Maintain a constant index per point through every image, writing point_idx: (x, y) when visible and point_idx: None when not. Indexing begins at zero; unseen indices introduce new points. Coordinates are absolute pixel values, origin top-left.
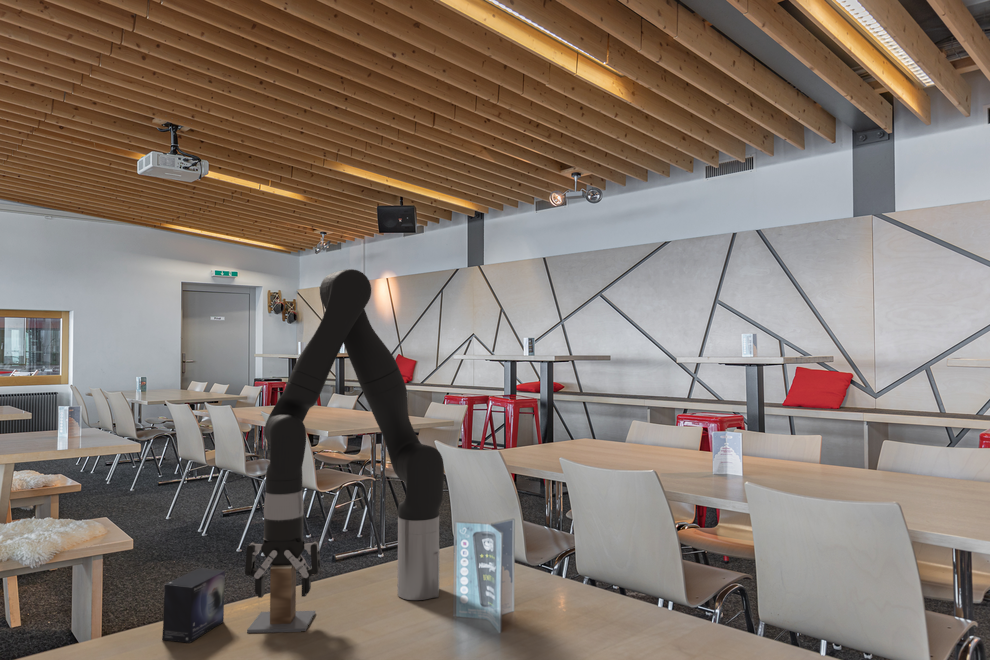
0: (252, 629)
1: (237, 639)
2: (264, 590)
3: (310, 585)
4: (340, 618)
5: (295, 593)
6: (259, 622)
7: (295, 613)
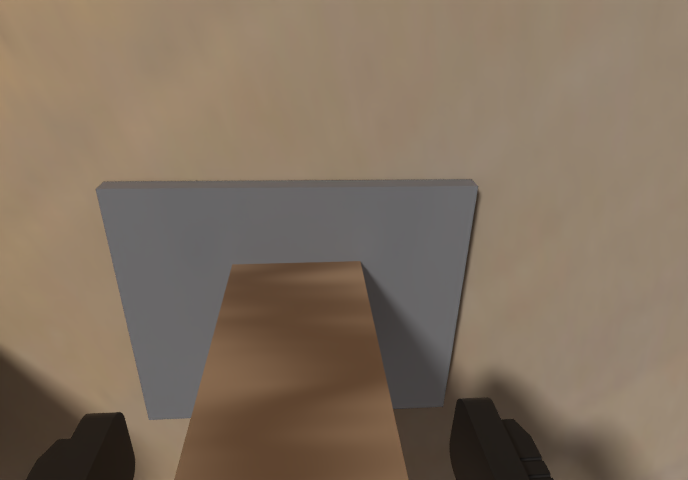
0: (176, 418)
1: (142, 458)
2: (108, 436)
3: (542, 470)
4: (618, 253)
5: (380, 363)
6: (172, 345)
7: (361, 269)
